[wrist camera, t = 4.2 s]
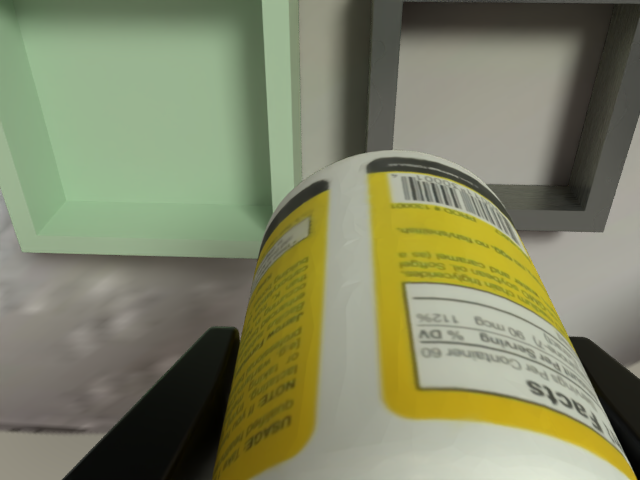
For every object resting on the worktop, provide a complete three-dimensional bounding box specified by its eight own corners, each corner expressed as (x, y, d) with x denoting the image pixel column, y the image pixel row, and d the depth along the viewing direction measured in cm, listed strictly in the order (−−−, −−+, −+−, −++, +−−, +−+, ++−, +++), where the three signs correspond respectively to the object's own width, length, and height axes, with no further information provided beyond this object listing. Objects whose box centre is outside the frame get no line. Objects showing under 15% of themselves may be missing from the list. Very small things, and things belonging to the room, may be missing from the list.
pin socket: (654, -38, 17) (683, -29, 15) (585, 206, 21) (603, 232, 20) (373, -40, 17) (375, -31, 16) (362, 201, 22) (363, 226, 20)
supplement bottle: (308, 368, 13) (261, 992, 6) (222, 185, 10) (-40, 872, 3) (531, 321, 12) (806, 1003, 5) (493, 107, 9) (935, 843, 2)
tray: (297, -65, 17) (287, -52, 14) (302, 214, 22) (296, 259, 20) (-18, -66, 17) (-81, -54, 15) (59, 208, 22) (22, 252, 20)
